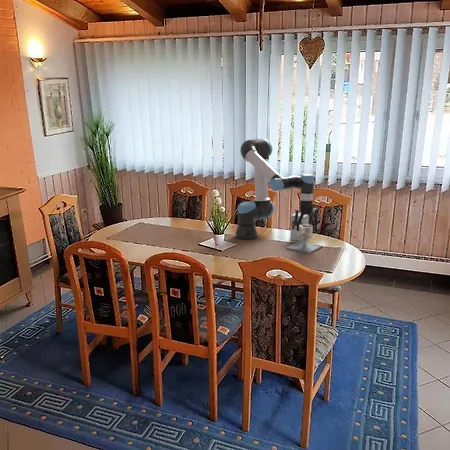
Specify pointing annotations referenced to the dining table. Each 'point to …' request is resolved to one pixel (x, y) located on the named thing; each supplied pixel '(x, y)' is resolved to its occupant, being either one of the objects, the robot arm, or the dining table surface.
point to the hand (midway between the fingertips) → (305, 235)
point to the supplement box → (294, 228)
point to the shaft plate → (304, 247)
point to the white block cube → (306, 231)
